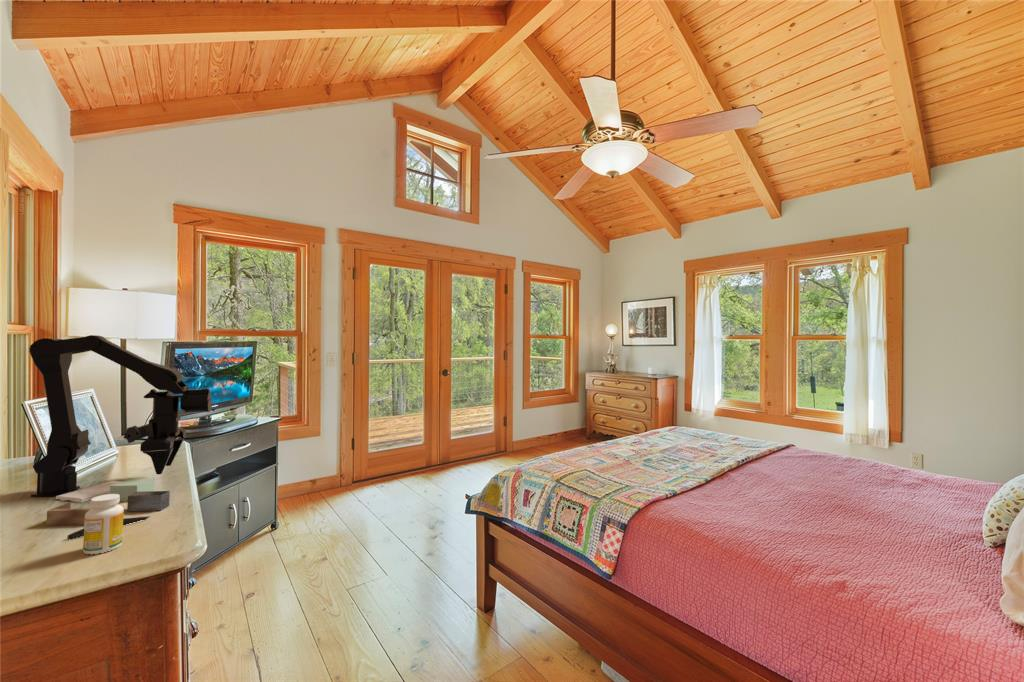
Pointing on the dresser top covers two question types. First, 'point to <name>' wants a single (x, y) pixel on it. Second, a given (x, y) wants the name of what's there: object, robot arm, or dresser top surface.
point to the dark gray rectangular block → (148, 500)
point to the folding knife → (125, 521)
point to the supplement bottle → (103, 524)
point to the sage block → (132, 487)
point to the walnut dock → (66, 515)
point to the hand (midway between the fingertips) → (163, 469)
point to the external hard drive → (88, 492)
